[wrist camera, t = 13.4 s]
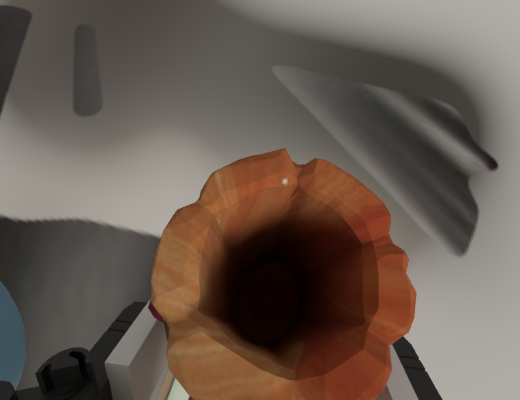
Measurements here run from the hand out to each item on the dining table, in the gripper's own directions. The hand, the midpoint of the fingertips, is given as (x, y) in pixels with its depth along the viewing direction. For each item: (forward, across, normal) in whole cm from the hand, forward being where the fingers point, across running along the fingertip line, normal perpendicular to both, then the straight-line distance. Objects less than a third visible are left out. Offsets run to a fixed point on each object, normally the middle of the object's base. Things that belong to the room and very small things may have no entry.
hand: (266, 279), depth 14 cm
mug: (+2, 0, -6) cm, 7 cm away
